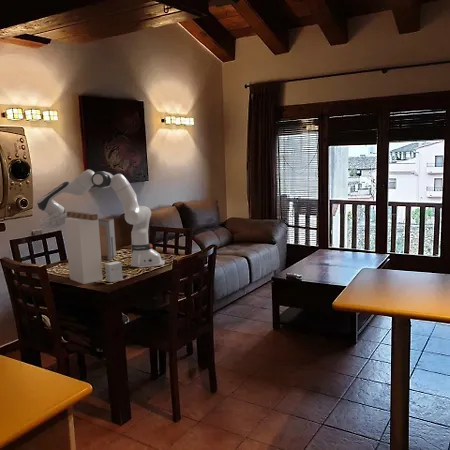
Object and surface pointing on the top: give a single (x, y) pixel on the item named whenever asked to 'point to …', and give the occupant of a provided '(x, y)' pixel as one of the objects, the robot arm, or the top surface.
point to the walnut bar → (82, 215)
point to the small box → (113, 271)
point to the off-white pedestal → (83, 250)
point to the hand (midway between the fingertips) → (63, 220)
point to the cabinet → (107, 238)
